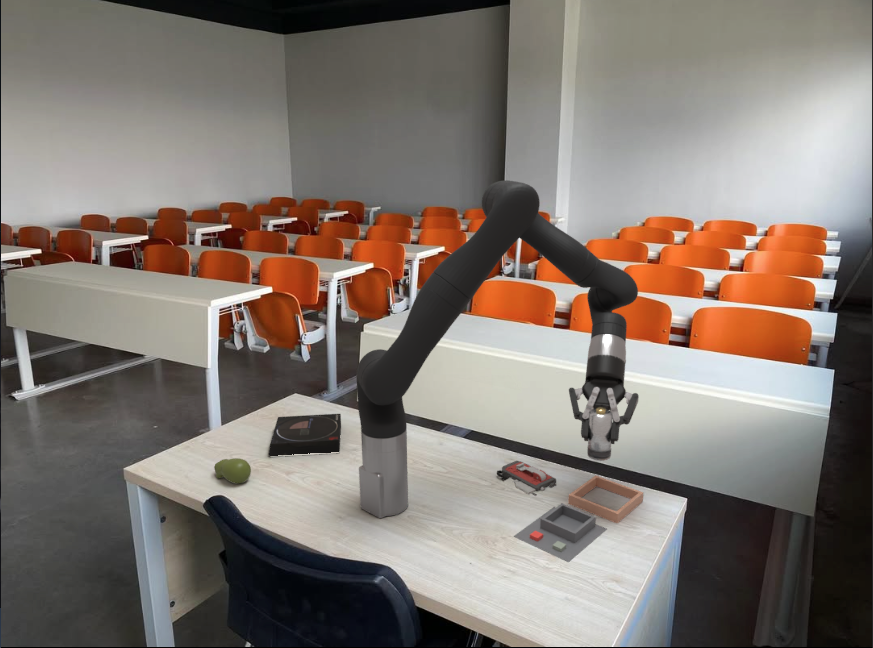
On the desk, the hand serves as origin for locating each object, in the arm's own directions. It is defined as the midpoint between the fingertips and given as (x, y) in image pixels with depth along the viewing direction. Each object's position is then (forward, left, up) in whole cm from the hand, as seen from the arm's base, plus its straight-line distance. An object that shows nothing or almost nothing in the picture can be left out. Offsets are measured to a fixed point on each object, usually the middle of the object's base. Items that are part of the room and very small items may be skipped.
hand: (599, 440), depth 127 cm
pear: (-38, +71, -18) cm, 82 cm away
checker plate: (-9, +2, -18) cm, 20 cm away
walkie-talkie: (+3, +16, -18) cm, 24 cm away
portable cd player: (-15, +74, -18) cm, 78 cm away
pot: (+6, +1, -18) cm, 19 cm away
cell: (+2, +1, -4) cm, 4 cm away
